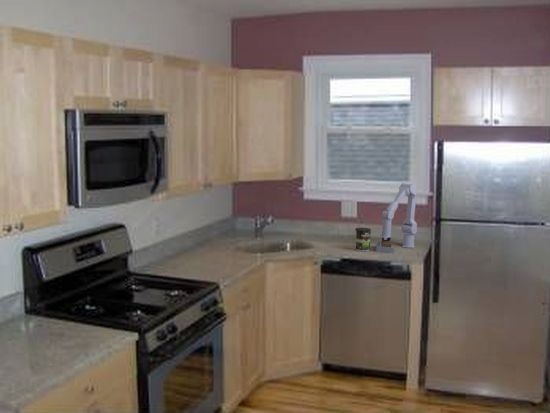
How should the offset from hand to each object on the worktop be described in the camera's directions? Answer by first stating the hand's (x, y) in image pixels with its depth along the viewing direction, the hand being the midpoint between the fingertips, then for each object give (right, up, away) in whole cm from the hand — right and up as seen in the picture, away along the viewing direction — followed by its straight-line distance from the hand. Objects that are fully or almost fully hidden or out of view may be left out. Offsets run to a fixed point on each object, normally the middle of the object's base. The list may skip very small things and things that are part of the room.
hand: (385, 248), depth 416 cm
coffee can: (-16, -1, 0) cm, 16 cm away
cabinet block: (-1, -1, -3) cm, 3 cm away
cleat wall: (-1, -1, +2) cm, 2 cm away
